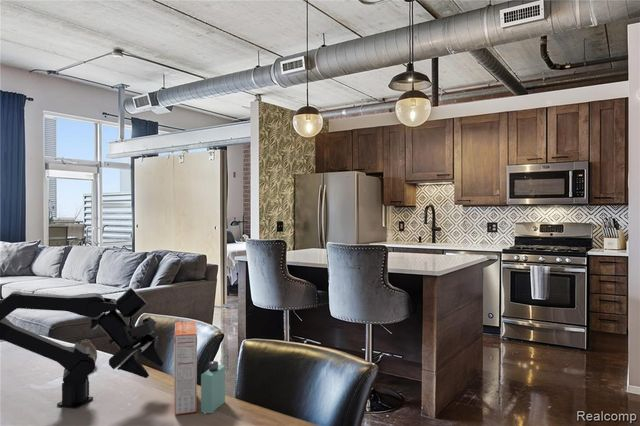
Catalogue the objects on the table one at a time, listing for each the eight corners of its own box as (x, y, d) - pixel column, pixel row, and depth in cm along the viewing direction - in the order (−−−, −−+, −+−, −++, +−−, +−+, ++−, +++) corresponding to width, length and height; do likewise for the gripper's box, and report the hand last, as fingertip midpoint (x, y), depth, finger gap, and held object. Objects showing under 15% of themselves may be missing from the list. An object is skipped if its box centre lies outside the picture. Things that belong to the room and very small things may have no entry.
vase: (101, 363, 160) (101, 338, 160) (89, 370, 153) (89, 343, 153) (82, 362, 160) (82, 337, 160) (69, 369, 154) (69, 343, 154)
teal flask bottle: (211, 414, 122) (211, 368, 122) (201, 412, 122) (201, 367, 122) (225, 401, 129) (225, 358, 129) (215, 400, 130) (215, 357, 130)
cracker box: (173, 394, 134) (174, 321, 134) (195, 392, 136) (196, 320, 135) (172, 415, 120) (173, 334, 120) (197, 413, 122) (198, 333, 122)
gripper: (120, 318, 122) (161, 362, 121) (152, 303, 140) (188, 342, 139) (91, 347, 123) (131, 391, 122) (127, 328, 141) (162, 367, 140)
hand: (155, 371), depth 131 cm, fingers open, 9 cm apart
